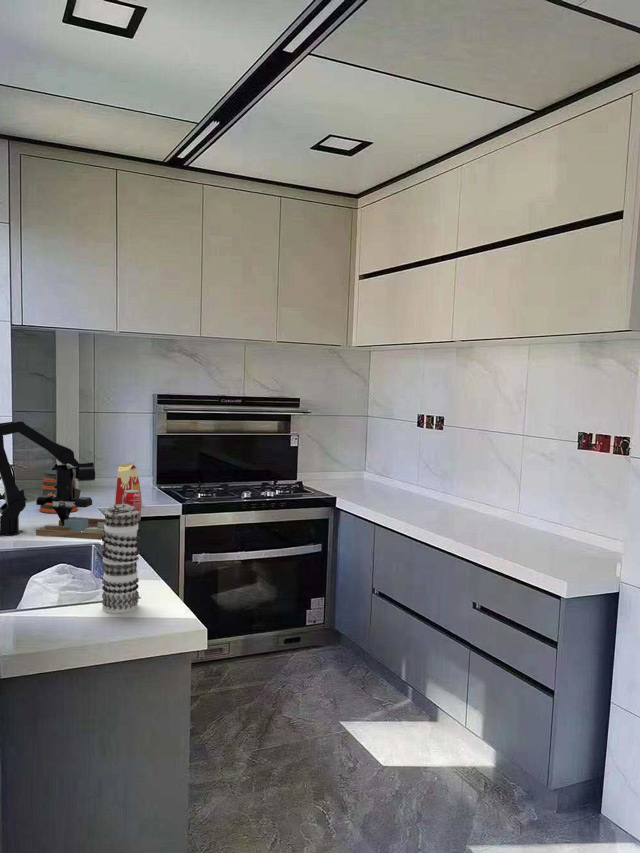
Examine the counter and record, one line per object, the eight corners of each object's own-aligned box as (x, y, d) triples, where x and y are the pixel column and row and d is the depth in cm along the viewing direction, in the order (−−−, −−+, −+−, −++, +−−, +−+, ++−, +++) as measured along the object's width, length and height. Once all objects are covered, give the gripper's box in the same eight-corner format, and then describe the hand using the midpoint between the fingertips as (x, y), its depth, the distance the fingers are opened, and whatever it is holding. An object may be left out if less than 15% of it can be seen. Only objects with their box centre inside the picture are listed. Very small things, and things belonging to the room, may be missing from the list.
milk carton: (142, 507, 295) (143, 460, 293) (131, 511, 286) (131, 463, 285) (123, 505, 297) (124, 459, 296) (111, 509, 288) (112, 461, 287)
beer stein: (44, 505, 292) (44, 458, 291) (80, 505, 295) (81, 458, 294) (37, 514, 274) (37, 464, 272) (76, 513, 277) (76, 464, 276)
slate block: (79, 532, 245) (79, 521, 245) (64, 531, 246) (64, 520, 245) (88, 528, 251) (88, 517, 250) (72, 527, 252) (73, 516, 251)
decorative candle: (111, 599, 172) (112, 501, 171) (146, 603, 171) (147, 503, 169) (93, 611, 163) (94, 507, 162) (129, 615, 162) (130, 510, 160)
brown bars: (107, 539, 235) (107, 531, 234) (35, 535, 238) (35, 526, 237) (133, 526, 257) (133, 518, 257) (67, 522, 260) (67, 514, 260)
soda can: (121, 520, 267) (121, 489, 267) (139, 519, 270) (140, 489, 269) (122, 523, 261) (123, 492, 260) (141, 523, 263) (142, 491, 262)
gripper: (99, 480, 254) (98, 521, 256) (51, 477, 257) (50, 518, 258) (85, 484, 243) (85, 527, 244) (35, 481, 245) (35, 525, 247)
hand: (64, 524), depth 249 cm, fingers closed
